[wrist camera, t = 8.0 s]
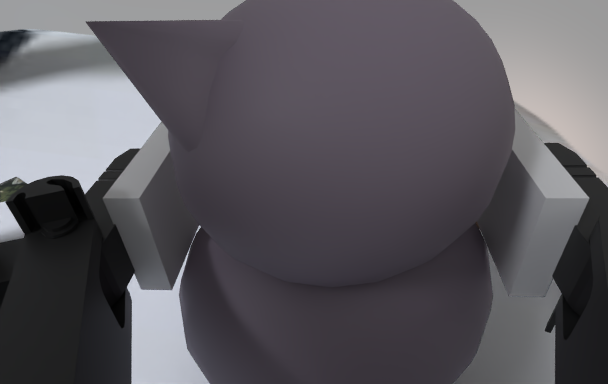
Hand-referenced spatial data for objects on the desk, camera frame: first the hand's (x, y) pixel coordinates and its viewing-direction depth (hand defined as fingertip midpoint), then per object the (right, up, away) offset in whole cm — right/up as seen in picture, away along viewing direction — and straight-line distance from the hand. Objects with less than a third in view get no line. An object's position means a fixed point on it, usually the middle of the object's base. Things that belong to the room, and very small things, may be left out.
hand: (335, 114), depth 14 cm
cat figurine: (0, -9, 0) cm, 9 cm away
